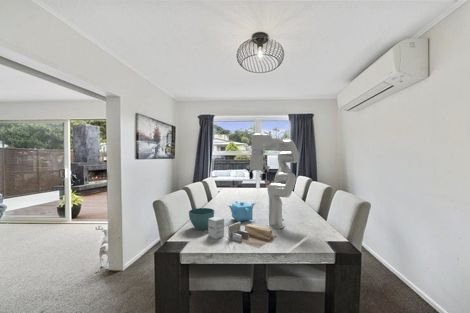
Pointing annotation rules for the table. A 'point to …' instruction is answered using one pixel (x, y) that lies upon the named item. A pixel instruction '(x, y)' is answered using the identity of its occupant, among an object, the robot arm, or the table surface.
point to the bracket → (236, 232)
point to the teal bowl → (201, 217)
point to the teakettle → (242, 211)
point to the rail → (259, 231)
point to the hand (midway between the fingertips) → (257, 179)
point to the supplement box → (216, 227)
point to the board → (255, 240)
